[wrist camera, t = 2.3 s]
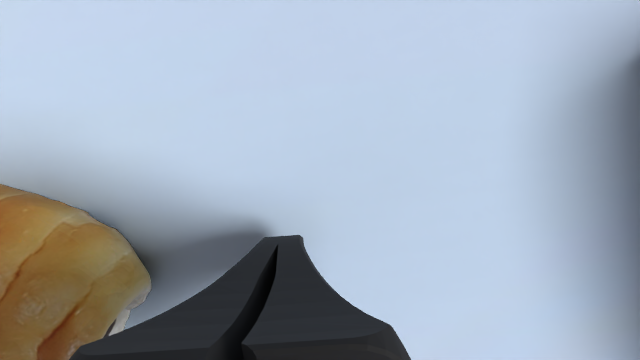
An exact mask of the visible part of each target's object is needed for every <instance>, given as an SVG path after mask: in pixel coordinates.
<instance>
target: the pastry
mask: <svg viewBox="0 0 640 360" xmlns="http://www.w3.org/2000/svg"><path fill="white" fill-rule="evenodd" d="M151 288H152V286H151V279H150V275H149V273H148V271H147V270H146V268H145V267H144V265H143V264H142V262H141V261H140V259H139V258H138V256H137V254H136V253H135V251H134V249H133V248H132V246H131V245H130V243H129V242H128V241H127V240H126V239H125V237H124V236H123V235H122V234H121V233H120V232H119V231H118V230H117V229H115V228H111V227H108V226H107V225H105V224H103V223H101V222H99V221H97V220H95V219H94V218H92V217H91V216H90V215H89V214H88V212H86V211H83V210H80V209H77V208H74V207H71V206H68V205H66V204H65V203H62V202H60V201H55V200H51V199H48V198H45V197H43V196H41V195H38V194H35V193H30V192H26V191H22V190H19V189H15V188H12V187H8V186H5V185H2V184H0V360H69V359H70V357H71V356H72V355H73V354H74V353H75V352H76V350H77V349H78V348H79V347H80V346H82V345H85V344H88V343H91V342H94V341H96V340H99V339H102V338H105V337H107V336H110V335H113V334H116V333H118V332H121V331H123V329H124V328H125V323H126V321H127V320H128V318H129V315H130V310H131V309H133V308H136V307H137V306H139V305H140V304H142V303H143V302H144V301H145V300H146V297H147V295H148V293H149V292H150V291H151Z"/></svg>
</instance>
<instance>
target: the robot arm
mask: <svg viewBox="0 0 640 360" xmlns="http://www.w3.org/2000/svg"><path fill="white" fill-rule="evenodd" d="M69 360H411V359H410V357H409V355H408V353H407V351H406V349H405V347H404V346H403V344H402V342H401V340H400V339H399V337H398V336H397V334H396V332H395V331H394V329H393V328H392V326H391V325H389V324H387V323H385V322H383V321H381V320H379V319H376V318H374V317H372V316H370V315H368V314H366V313H364V312H363V311H361V310H359V309H358V308H356V307H354V306H353V305H351V304H350V303H349V302H348V301H346V300H345V299H344V298H342V297H341V296H340V295H339V294H338V293H337V292H336V291H335V290H334V289H332V287H331V286H330V285H329V284H328V283H327V282H326V281H325V280H324V278H323V277H322V276H321V275H320V273H319V272H318V271H317V269H316V268H315V266H314V265H313V263H312V261H311V259H310V258H309V256H308V254H307V252H306V250H305V247H304V243H303V237H301V236H300V235H293V236H278V237H265V238H264V239H262V240H261V241H260V242H259V243H258V244H257V245H256V246H255V247H254V248H253V249H252V250H251V251H250V252H249V253H248V254H247V255H246V256H245V257H244V258H243V259H242V260H241V261H239V262H238V263H237V264H236V265H235V266H234V267H232V268H231V269H230V270H229V271H228V272H226V273H225V274H224V275H223V276H222V277H221V278H219V279H218V280H217V281H215V282H214V283H213V284H211V285H210V286H208V287H207V288H205V289H204V290H202V291H201V292H199V293H198V294H196V295H195V296H193V297H191V298H190V299H188V300H186V301H184V302H182V303H181V304H179V305H177V306H175V307H173V308H172V309H170V310H168V311H166V312H164V313H162V314H160V315H158V316H156V317H154V318H152V319H150V320H147V321H145V322H143V323H140V324H138V325H136V326H134V327H131V328H129V329H126V330H124V331H121V332H118V333H116V334H113V335H110V336H107V337H105V338H102V339H99V340H96V341H94V342H91V343H88V344H85V345H82V346H80V347H79V348H78V349H77V350H76V352H75V353H74V354H73V355H72V356H71V357H70V359H69Z"/></svg>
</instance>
